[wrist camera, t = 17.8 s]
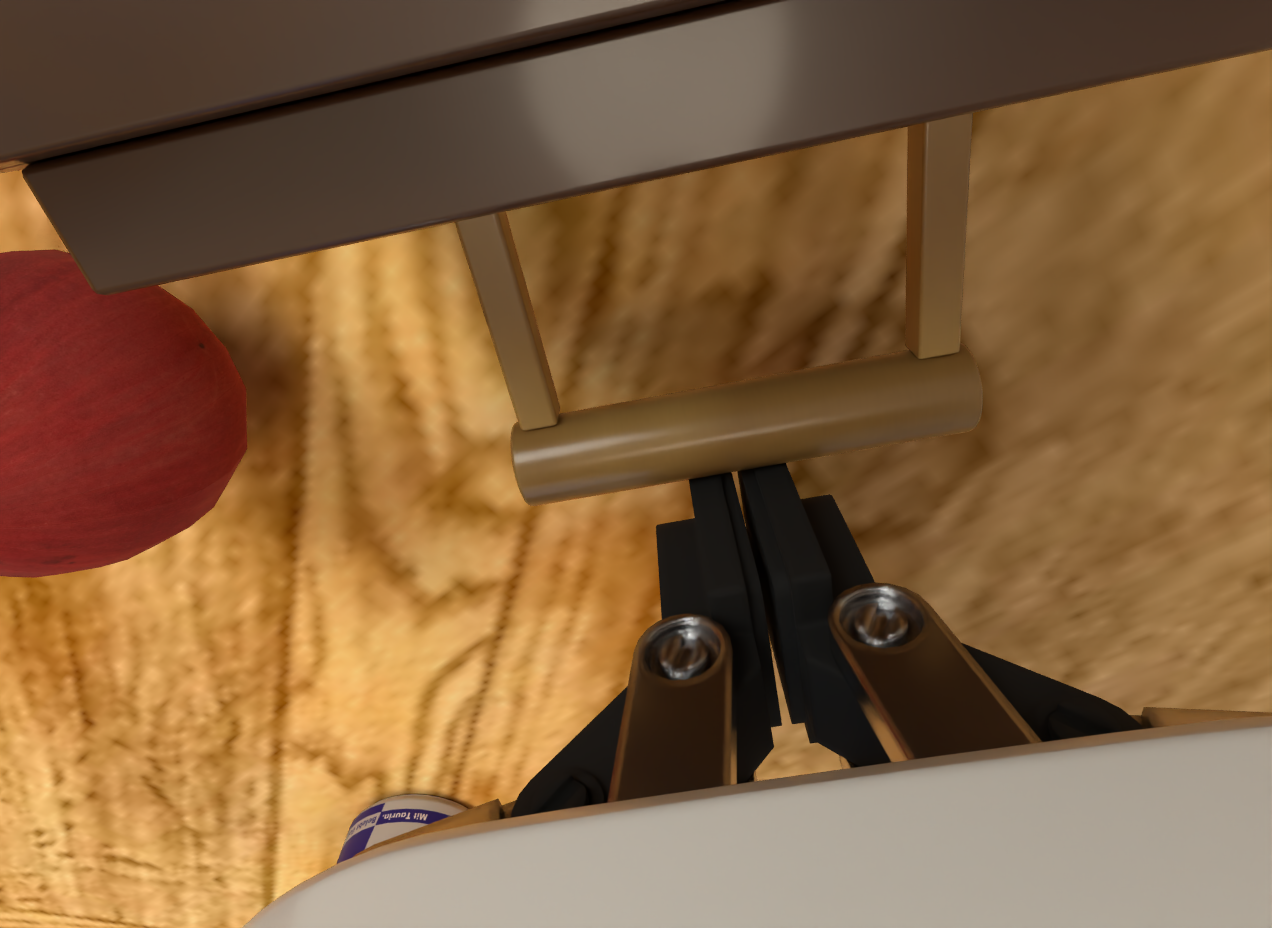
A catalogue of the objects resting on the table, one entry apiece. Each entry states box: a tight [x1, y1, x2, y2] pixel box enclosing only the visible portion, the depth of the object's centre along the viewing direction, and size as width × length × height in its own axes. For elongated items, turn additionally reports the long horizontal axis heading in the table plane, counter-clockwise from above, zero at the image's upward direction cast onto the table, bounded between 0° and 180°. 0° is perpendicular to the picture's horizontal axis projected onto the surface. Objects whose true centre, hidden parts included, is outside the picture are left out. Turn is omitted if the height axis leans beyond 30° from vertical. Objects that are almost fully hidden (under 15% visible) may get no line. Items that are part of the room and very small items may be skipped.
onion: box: [0, 250, 247, 577], centre depth 12 cm, size 6×6×8 cm
